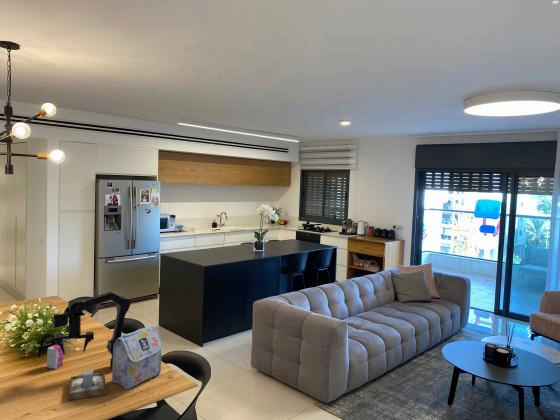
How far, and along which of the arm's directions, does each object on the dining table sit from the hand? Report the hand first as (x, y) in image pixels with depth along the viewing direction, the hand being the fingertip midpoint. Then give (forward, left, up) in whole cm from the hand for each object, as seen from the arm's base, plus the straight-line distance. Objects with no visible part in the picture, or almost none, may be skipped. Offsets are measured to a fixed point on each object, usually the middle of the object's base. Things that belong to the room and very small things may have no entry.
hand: (74, 353), depth 217 cm
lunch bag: (-31, +13, -13) cm, 36 cm away
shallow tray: (-7, +16, -13) cm, 22 cm away
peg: (-7, +16, -12) cm, 21 cm away
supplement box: (+10, -16, -13) cm, 23 cm away
